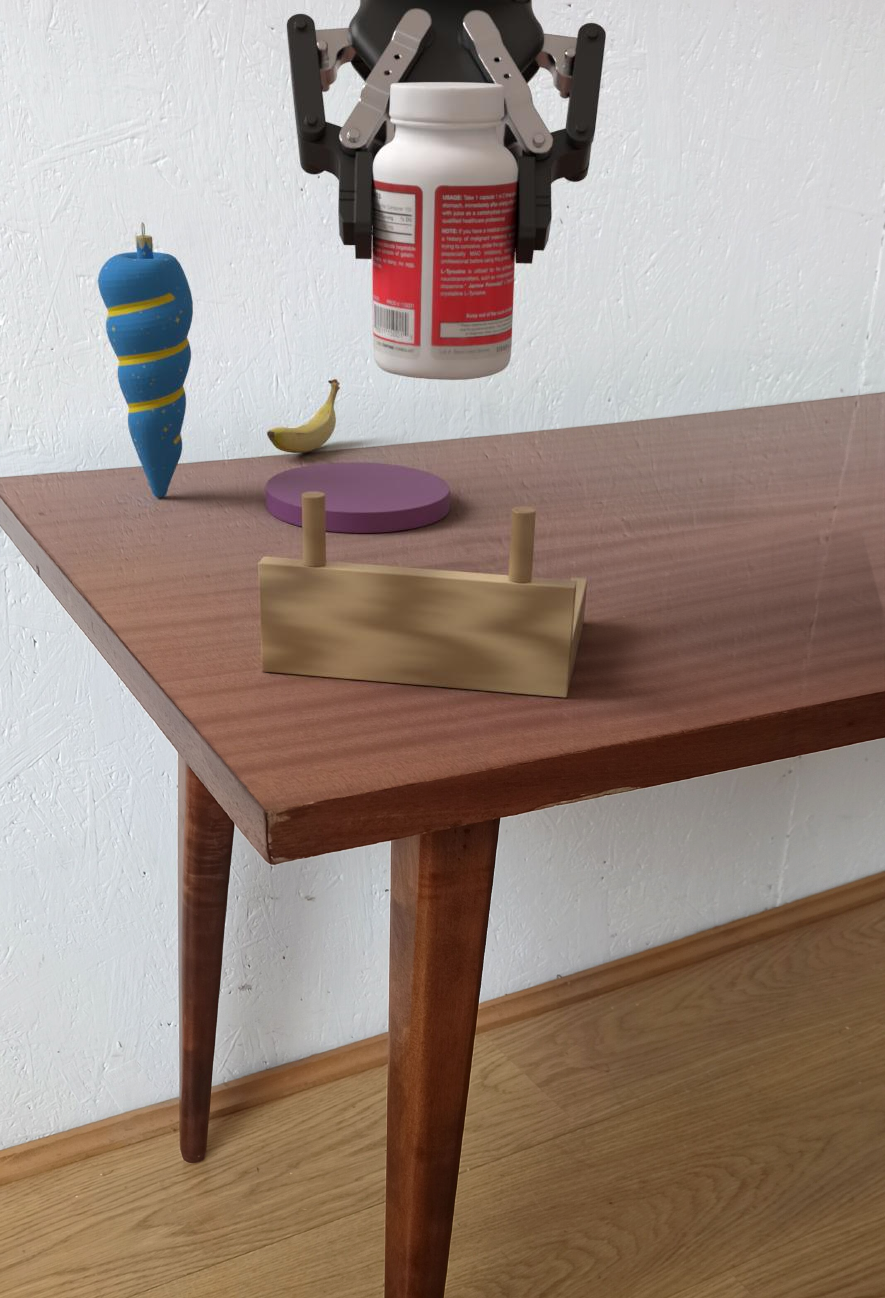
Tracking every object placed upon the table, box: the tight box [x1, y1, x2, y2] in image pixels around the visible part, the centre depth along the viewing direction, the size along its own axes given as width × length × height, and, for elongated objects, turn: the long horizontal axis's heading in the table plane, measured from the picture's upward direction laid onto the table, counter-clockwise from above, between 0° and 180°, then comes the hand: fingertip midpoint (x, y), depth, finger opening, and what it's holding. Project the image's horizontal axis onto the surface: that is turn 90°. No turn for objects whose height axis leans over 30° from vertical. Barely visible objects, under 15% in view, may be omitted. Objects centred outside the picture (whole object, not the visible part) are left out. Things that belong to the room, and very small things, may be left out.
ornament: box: [97, 222, 194, 499], centre depth 88 cm, size 5×5×15 cm
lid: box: [265, 461, 451, 534], centre depth 91 cm, size 11×11×1 cm
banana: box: [266, 378, 341, 454], centre depth 101 cm, size 8×2×4 cm, turn 153°
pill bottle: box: [371, 82, 518, 381], centre depth 65 cm, size 6×6×11 cm
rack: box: [257, 491, 588, 699], centre depth 70 cm, size 14×10×8 cm
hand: (445, 248), depth 64 cm, fingers closed on pill bottle, 6 cm apart
